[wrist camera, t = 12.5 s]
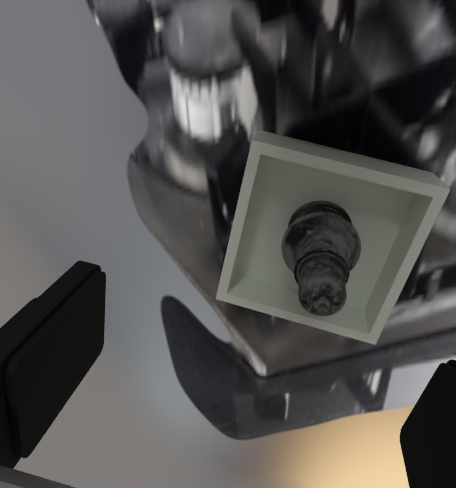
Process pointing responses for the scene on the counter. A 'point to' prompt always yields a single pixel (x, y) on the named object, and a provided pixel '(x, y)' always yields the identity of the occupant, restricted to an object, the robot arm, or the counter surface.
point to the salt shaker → (321, 255)
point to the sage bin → (362, 217)
